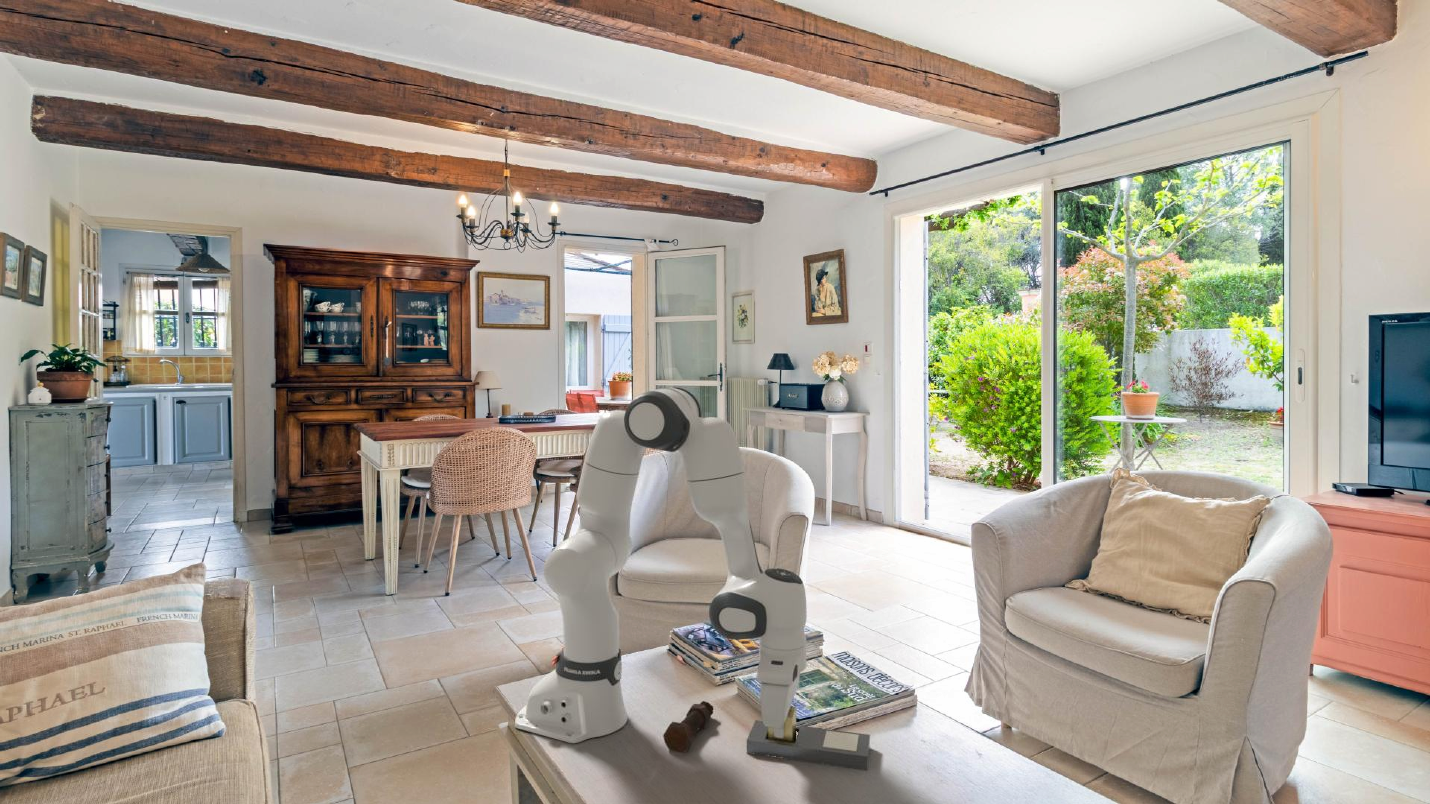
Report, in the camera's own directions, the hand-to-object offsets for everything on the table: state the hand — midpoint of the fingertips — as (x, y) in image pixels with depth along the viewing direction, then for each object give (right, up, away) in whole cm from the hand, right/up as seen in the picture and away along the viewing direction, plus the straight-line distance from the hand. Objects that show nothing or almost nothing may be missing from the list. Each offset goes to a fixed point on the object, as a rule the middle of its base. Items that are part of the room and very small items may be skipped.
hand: (782, 728), depth 140 cm
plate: (+5, -4, -1) cm, 6 cm away
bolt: (-17, -4, +5) cm, 18 cm away
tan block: (0, -4, 0) cm, 4 cm away
